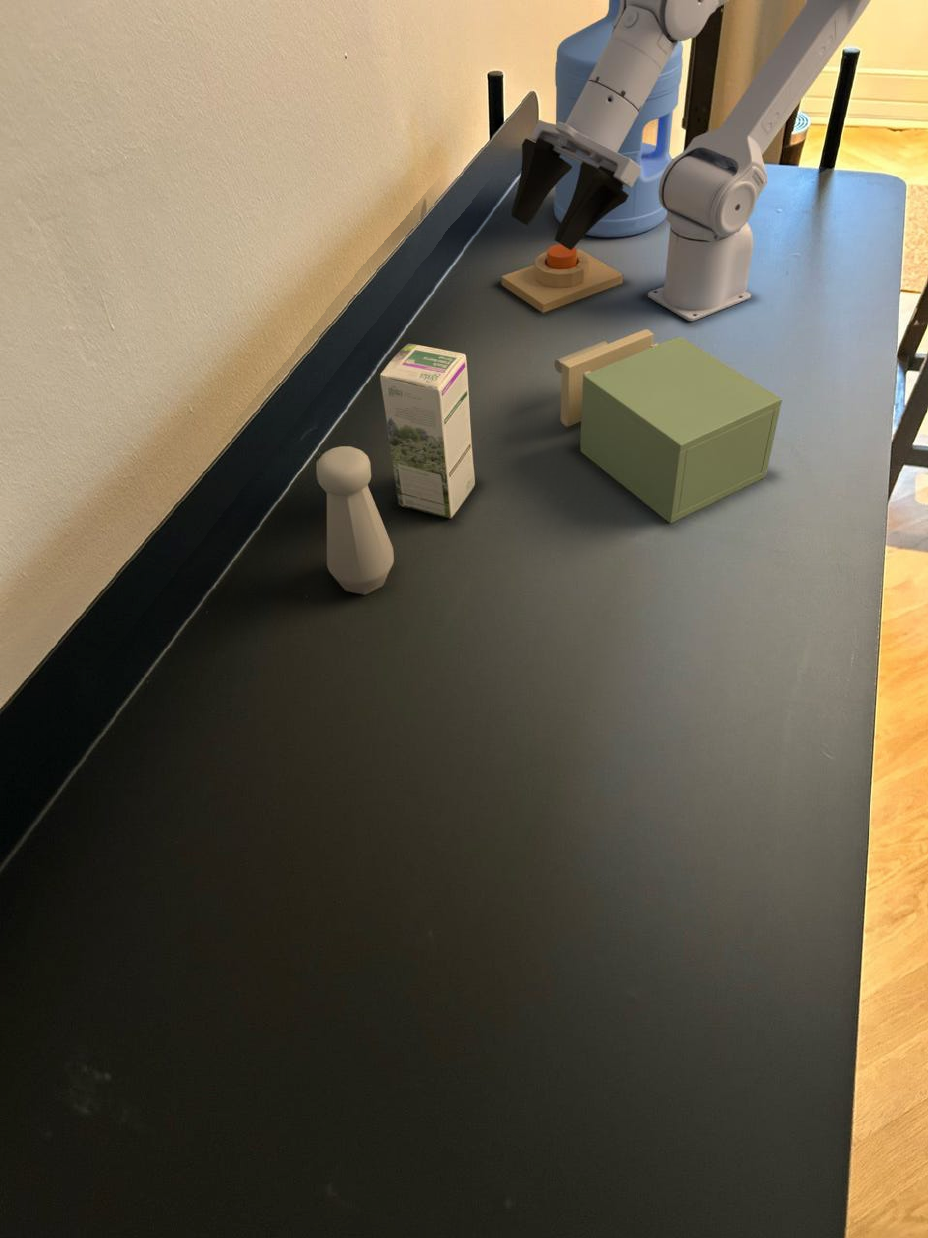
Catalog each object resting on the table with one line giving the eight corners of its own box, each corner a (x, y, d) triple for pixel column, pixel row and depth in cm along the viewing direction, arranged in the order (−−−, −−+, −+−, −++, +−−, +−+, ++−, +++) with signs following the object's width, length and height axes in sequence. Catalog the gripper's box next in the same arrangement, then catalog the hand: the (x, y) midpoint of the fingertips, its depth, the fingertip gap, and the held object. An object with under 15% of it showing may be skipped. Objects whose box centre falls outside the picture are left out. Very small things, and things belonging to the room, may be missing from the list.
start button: (565, 254, 118) (565, 241, 117) (582, 265, 116) (583, 251, 115) (541, 263, 117) (541, 249, 116) (558, 273, 115) (558, 260, 113)
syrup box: (477, 484, 91) (468, 349, 81) (450, 522, 88) (438, 385, 77) (424, 472, 93) (409, 338, 83) (396, 508, 90) (376, 373, 79)
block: (578, 257, 123) (579, 234, 121) (622, 283, 117) (624, 260, 115) (501, 285, 119) (500, 261, 117) (542, 313, 113) (542, 289, 111)
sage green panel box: (580, 451, 94) (582, 374, 88) (671, 411, 98) (679, 335, 92) (670, 523, 86) (680, 445, 80) (766, 476, 90) (782, 398, 83)
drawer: (536, 402, 99) (536, 344, 94) (616, 370, 102) (619, 311, 97) (639, 483, 89) (644, 422, 84) (723, 444, 92) (733, 383, 87)
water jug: (558, 243, 126) (561, -2, 106) (550, 195, 137) (551, -36, 117) (677, 236, 125) (702, -13, 105) (659, 188, 136) (679, -45, 116)
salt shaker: (401, 556, 85) (384, 435, 75) (392, 602, 81) (372, 480, 72) (337, 555, 85) (312, 434, 76) (324, 600, 81) (297, 479, 72)
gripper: (541, 58, 92) (473, 193, 97) (638, 93, 83) (557, 240, 88) (586, 96, 97) (519, 222, 102) (681, 132, 88) (603, 269, 93)
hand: (540, 232), depth 95 cm, fingers open, 7 cm apart
